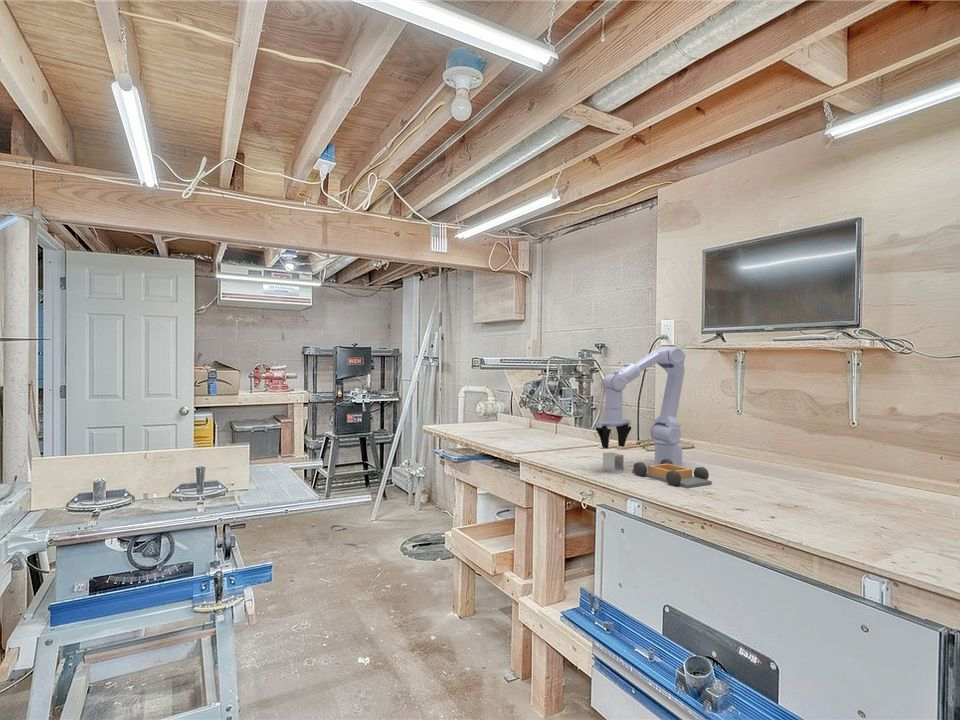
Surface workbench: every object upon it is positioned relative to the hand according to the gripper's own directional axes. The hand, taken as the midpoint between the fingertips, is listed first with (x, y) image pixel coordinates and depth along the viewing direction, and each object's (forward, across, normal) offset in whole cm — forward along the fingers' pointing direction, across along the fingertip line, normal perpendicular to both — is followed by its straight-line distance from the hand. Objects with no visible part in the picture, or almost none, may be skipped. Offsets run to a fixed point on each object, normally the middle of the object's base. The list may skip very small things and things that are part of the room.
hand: (613, 447), depth 170 cm
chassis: (+8, -10, +16) cm, 21 cm away
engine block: (+8, 0, 0) cm, 9 cm away
